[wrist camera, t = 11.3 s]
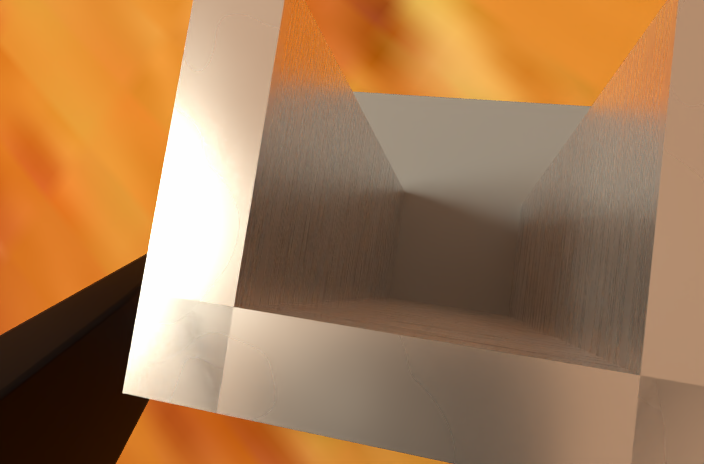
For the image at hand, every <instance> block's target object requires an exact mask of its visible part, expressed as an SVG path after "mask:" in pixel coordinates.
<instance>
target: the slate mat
mask: <svg viewBox="0 0 704 464" xmlns="http://www.w3.org/2000/svg"><path fill="white" fill-rule="evenodd" d="M353 94H354V95H355V97H356V99H357V101H358V103H359V105H360V107H361V109H362V111H363V113H364V115H365V116H366V118H367V120H368V122H369V124H370V126H371V128H372V130H373V132H374V134H375V136H376V138H377V139H378V141H379V143H380V145H381V147H382V149H383V151H384V153H385V155H386V157H387V159H388V160H389V162H390V164H391V166H392V168H393V170H394V172H395V174H396V176H397V178H398V180H399V181H400V183H401V185H402V187H403V189H404V199H403V206H402V213H401V220H400V227H399V234H398V241H397V248H396V255H395V262H394V269H393V276H392V283H391V290H390V297H389V298H395V299H402V300H408V301H415V302H421V303H428V304H434V305H441V306H447V307H454V308H460V309H467V310H473V311H480V312H486V313H493V314H499V315H506V316H508V312H509V304H510V296H511V288H512V279H513V271H514V263H515V255H516V247H517V239H518V230H519V222H520V214H521V206H522V203H523V202H524V200H525V199H526V198H527V196H528V195H529V193H530V192H531V191H532V189H533V188H534V186H535V185H536V184H537V182H538V181H539V179H540V178H541V177H542V175H543V174H544V172H545V171H546V170H547V168H548V167H549V165H550V164H551V163H552V161H553V160H554V158H555V157H556V156H557V154H558V153H559V151H560V150H561V149H562V147H563V146H564V144H565V143H566V142H567V140H568V139H569V137H570V136H571V135H572V133H573V132H574V130H575V129H576V128H577V126H578V125H579V123H580V122H581V121H582V119H583V118H584V116H585V115H586V114H587V112H588V111H589V109H590V108H591V107H590V106H574V105H558V104H542V103H526V102H509V101H493V100H477V99H461V98H445V97H429V96H413V95H397V94H381V93H364V92H353Z"/></svg>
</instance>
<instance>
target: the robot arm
mask: <svg viewBox="0 0 704 464" xmlns="http://www.w3.org/2000/svg"><path fill="white" fill-rule="evenodd" d="M147 254H148V253H147ZM147 254H145V255H143V256H142V257H140V258H138V259H136V260H134V261H133V262H131V263H129V264H127V265H126V266H124V267H122V268H120V269H118V270H117V271H115V272H113V273H111V274H109V275H108V276H106V277H104V278H102V279H100V280H99V281H97V282H95V283H93V284H91V285H90V286H88V287H86V288H84V289H82V290H81V291H79V292H77V293H75V294H74V295H72V296H70V297H68V298H66V299H65V300H63V301H61V302H59V303H57V304H56V305H54V306H52V307H50V308H48V309H47V310H45V311H43V312H41V313H39V314H38V315H36V316H34V317H32V318H30V319H29V320H27V321H25V322H23V323H21V324H20V325H18V326H16V327H14V328H13V329H11V330H9V331H7V332H5V333H4V334H2V335H0V464H116V462H117V460H118V458H119V457H120V455H121V453H122V451H123V449H124V447H125V445H126V443H127V441H128V439H129V437H130V435H131V434H132V432H133V430H134V428H135V426H136V424H137V422H138V420H139V418H140V416H141V414H142V412H143V411H144V409H145V407H146V405H147V403H148V401H149V398H144V397H139V396H135V395H130V394H125V393H123V387H124V382H125V376H126V370H127V365H128V359H129V354H130V348H131V343H132V337H133V332H134V326H135V321H136V315H137V309H138V304H139V298H140V293H141V287H142V282H143V276H144V271H145V265H146V260H147Z"/></svg>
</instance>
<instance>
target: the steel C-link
mask: <svg viewBox="0 0 704 464" xmlns="http://www.w3.org/2000/svg"><path fill="white" fill-rule="evenodd" d="M403 199H404V189H403V187H402V185H401V183H400V181H399V180H398V178H397V176H396V174H395V172H394V170H393V168H392V166H391V164H390V162H389V160H388V159H387V157H386V155H385V153H384V151H383V149H382V147H381V145H380V143H379V141H378V139H377V138H376V136H375V134H374V132H373V130H372V128H371V126H370V124H369V122H368V120H367V118H366V116H365V115H364V113H363V111H362V109H361V107H360V105H359V103H358V101H357V99H356V97H355V95H354V94H353V92H352V90H351V88H350V86H349V84H348V82H347V80H346V78H345V76H344V74H343V73H342V71H341V69H340V67H339V65H338V63H337V61H336V59H335V57H334V55H333V53H332V52H331V50H330V48H329V46H328V44H327V42H326V40H325V38H324V36H323V34H322V32H321V30H320V29H319V27H318V25H317V23H316V21H315V19H314V17H313V15H312V13H311V11H310V9H309V8H308V6H307V4H306V2H305V0H193V5H192V10H191V16H190V21H189V27H188V32H187V38H186V43H185V49H184V54H183V60H182V66H181V71H180V77H179V82H178V88H177V93H176V99H175V104H174V110H173V115H172V121H171V127H170V132H169V138H168V143H167V149H166V154H165V160H164V165H163V171H162V176H161V182H160V188H159V193H158V199H157V204H156V210H155V215H154V221H153V226H152V232H151V237H150V243H149V248H148V254H147V260H146V265H145V271H144V276H143V282H142V287H141V293H140V298H139V304H138V309H137V315H136V321H135V326H134V332H133V337H132V343H131V348H130V354H129V359H128V365H127V370H126V376H125V382H124V387H123V393H125V394H130V395H135V396H139V397H144V398H149V399H153V400H158V401H163V402H167V403H172V404H177V405H181V406H186V407H191V408H195V409H200V410H205V411H210V412H214V413H219V414H224V415H228V416H233V417H238V418H242V419H247V420H252V421H256V422H261V423H266V424H270V425H275V426H280V427H284V428H289V429H294V430H299V431H303V432H308V433H313V434H317V435H322V436H327V437H331V438H336V439H341V440H345V441H350V442H355V443H359V444H364V445H369V446H373V447H378V448H383V449H388V450H392V451H397V452H402V453H406V454H411V455H416V456H420V457H425V458H430V459H434V460H439V461H444V462H448V463H453V464H704V0H667V2H666V3H665V4H664V6H663V7H662V9H661V10H660V11H659V13H658V14H657V16H656V17H655V18H654V20H653V21H652V23H651V24H650V25H649V27H648V28H647V30H646V31H645V32H644V34H643V35H642V37H641V38H640V39H639V41H638V42H637V44H636V45H635V46H634V48H633V49H632V51H631V52H630V53H629V55H628V56H627V58H626V59H625V60H624V62H623V63H622V65H621V66H620V67H619V69H618V70H617V72H616V73H615V74H614V76H613V77H612V79H611V80H610V81H609V83H608V84H607V86H606V87H605V88H604V90H603V91H602V93H601V94H600V95H599V97H598V98H597V100H596V101H595V102H594V104H593V105H592V107H591V108H590V109H589V111H588V112H587V114H586V115H585V116H584V118H583V119H582V121H581V122H580V123H579V125H578V126H577V128H576V129H575V130H574V132H573V133H572V135H571V136H570V137H569V139H568V140H567V142H566V143H565V144H564V146H563V147H562V149H561V150H560V151H559V153H558V154H557V156H556V157H555V158H554V160H553V161H552V163H551V164H550V165H549V167H548V168H547V170H546V171H545V172H544V174H543V175H542V177H541V178H540V179H539V181H538V182H537V184H536V185H535V186H534V188H533V189H532V191H531V192H530V193H529V195H528V196H527V198H526V199H525V200H524V202H523V203H522V206H521V214H520V222H519V230H518V239H517V247H516V255H515V263H514V271H513V279H512V288H511V296H510V304H509V312H508V316H506V315H499V314H493V313H486V312H480V311H473V310H467V309H460V308H454V307H447V306H441V305H434V304H428V303H421V302H415V301H408V300H402V299H395V298H389V297H390V290H391V283H392V276H393V269H394V262H395V255H396V248H397V241H398V234H399V227H400V220H401V213H402V206H403Z"/></svg>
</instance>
